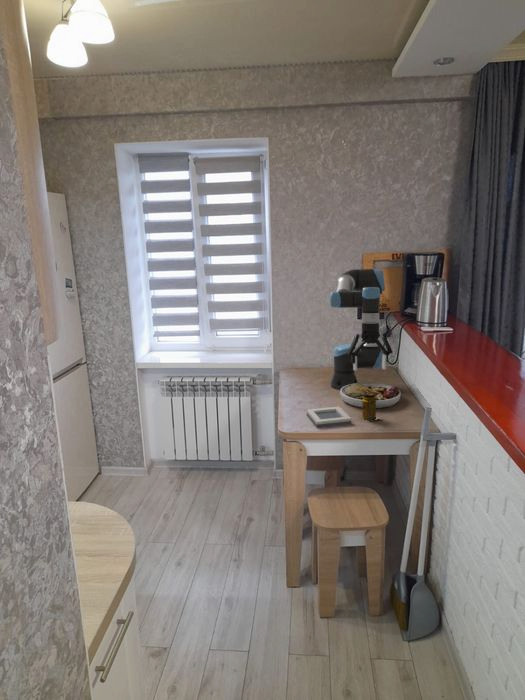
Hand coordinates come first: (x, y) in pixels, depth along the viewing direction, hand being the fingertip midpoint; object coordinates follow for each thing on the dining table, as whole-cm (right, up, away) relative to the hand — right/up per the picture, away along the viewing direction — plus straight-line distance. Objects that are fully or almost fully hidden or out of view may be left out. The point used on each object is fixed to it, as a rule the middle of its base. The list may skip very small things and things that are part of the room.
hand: (369, 369), depth 210 cm
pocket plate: (-18, -23, +5) cm, 30 cm away
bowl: (+7, -17, +30) cm, 35 cm away
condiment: (+2, -23, +5) cm, 23 cm away
